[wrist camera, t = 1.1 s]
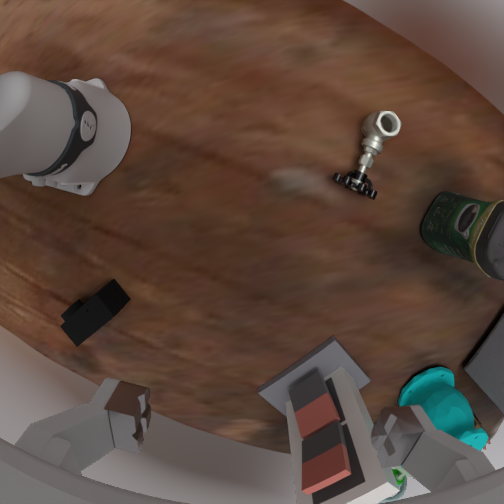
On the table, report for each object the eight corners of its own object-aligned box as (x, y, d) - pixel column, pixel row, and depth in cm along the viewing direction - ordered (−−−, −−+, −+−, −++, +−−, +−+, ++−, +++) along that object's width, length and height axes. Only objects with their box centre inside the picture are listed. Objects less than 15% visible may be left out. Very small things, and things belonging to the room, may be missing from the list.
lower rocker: (322, 374, 48) (340, 419, 38) (292, 393, 49) (305, 440, 39) (318, 370, 47) (336, 416, 38) (288, 390, 48) (301, 437, 39)
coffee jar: (442, 257, 46) (512, 296, 28) (412, 232, 45) (483, 263, 27) (469, 211, 44) (545, 231, 26) (441, 182, 43) (519, 192, 25)
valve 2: (502, 430, 34) (405, 512, 44) (465, 370, 50) (390, 455, 61) (454, 433, 33) (353, 516, 43) (418, 362, 49) (343, 453, 60)
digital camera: (110, 272, 47) (90, 286, 41) (131, 298, 48) (114, 316, 42) (75, 304, 49) (55, 320, 42) (94, 328, 50) (76, 347, 43)
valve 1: (357, 107, 41) (327, 178, 44) (372, 97, 35) (339, 179, 37) (394, 128, 42) (366, 198, 44) (414, 122, 35) (382, 202, 38)
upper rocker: (342, 425, 37) (351, 473, 27) (306, 445, 38) (307, 495, 28) (337, 420, 37) (345, 469, 27) (301, 441, 38) (301, 490, 28)
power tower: (368, 376, 52) (422, 487, 26) (298, 421, 54) (315, 538, 28) (333, 335, 50) (385, 458, 24) (258, 387, 52) (259, 516, 26)
